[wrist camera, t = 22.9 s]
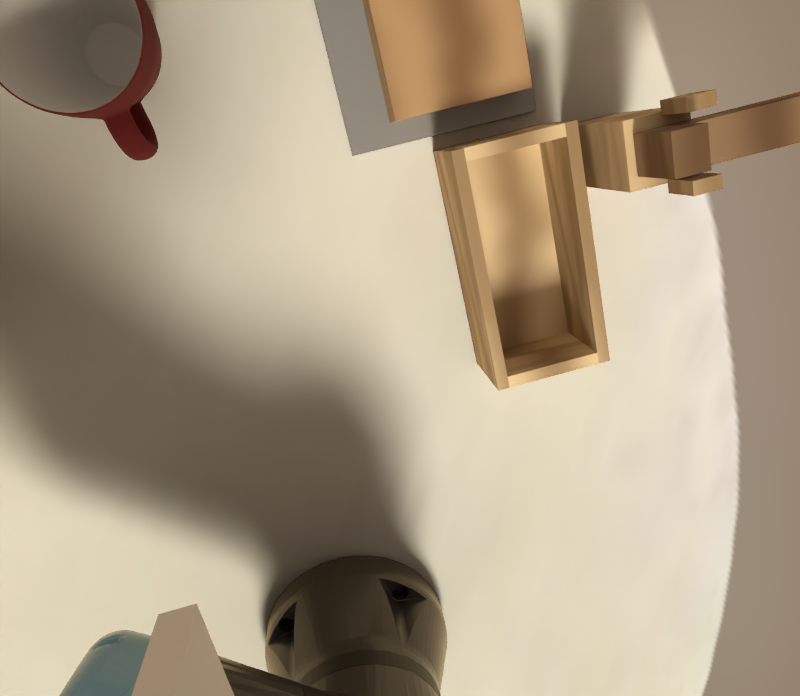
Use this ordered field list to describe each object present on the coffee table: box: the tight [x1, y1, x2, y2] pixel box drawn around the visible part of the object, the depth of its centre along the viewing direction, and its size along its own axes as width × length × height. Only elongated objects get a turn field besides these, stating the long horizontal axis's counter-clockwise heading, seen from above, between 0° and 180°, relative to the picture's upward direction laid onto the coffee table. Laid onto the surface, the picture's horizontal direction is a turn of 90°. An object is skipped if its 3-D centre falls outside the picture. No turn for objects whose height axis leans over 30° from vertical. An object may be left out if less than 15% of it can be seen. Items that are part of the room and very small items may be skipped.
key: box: [633, 92, 800, 179], centre depth 35 cm, size 12×2×4 cm, turn 103°
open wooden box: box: [433, 89, 723, 391], centre depth 41 cm, size 13×16×12 cm
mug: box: [0, 0, 162, 160], centre depth 36 cm, size 11×8×10 cm
